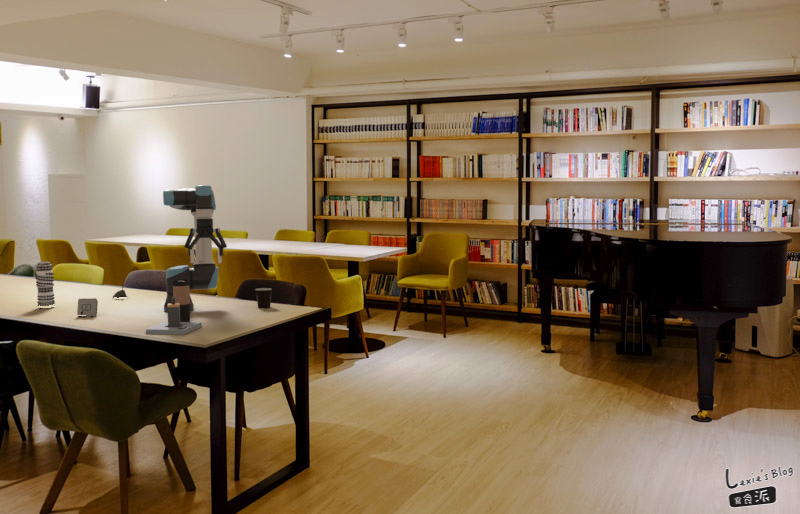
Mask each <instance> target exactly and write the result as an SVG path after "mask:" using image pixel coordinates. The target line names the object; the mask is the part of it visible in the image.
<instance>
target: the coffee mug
mask: <svg viewBox="0 0 800 514" xmlns="http://www.w3.org/2000/svg"><path fill="white" fill-rule="evenodd" d="M272 293H273V288H269V287H261V288H259V287H258V288H255V296H256V301H257V308H258V309H259V308H267V309H270V308H271V303H272Z"/></svg>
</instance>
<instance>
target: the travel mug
mask: <svg viewBox="0 0 800 514" xmlns="http://www.w3.org/2000/svg"><path fill="white" fill-rule="evenodd" d="M173 297H175V303H180V322H191V311H190V297H191V292H189V280H187V279H180V280H173Z"/></svg>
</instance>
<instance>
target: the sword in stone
mask: <svg viewBox="0 0 800 514" xmlns="http://www.w3.org/2000/svg"><path fill="white" fill-rule="evenodd" d="M125 281H126V279H125V278H124V279H123V283H122V285H121V287H122V289H120V290H118V291H116V292H115V293H114V295H112V298H113V297H117V298H119V297H128V296H127V293H126V291H125V290H124V286H125Z"/></svg>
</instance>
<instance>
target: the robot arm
mask: <svg viewBox="0 0 800 514" xmlns="http://www.w3.org/2000/svg"><path fill="white" fill-rule="evenodd" d="M212 188H213V187H212V186H211V185H209V184H207V185H203V184H202V185H199V184H198V185H196V186H195V188H178V189H164V190H163V191H162V198H163V199H162V200H163V205H164V206H169V208H172V209H175V210H179V211H190V215H192V217H193V223H194V224H193V225H194V227H191V228H190V229H189V234H188V237H187V239H186V242H185V243H184V246H183V247H184V248H185V249H187V250H188V256H189V257H190V264H192V267H190V265H187V264H185V265H184V264H183V265H176V266H171V267H169V268H167V269H166V272H165V279H166V280H165V281H166V283H165V284H166V298H165V302H164V305H163V312H165V313H168V310H167V305H168V303H172V301H171V298H172V297H173V280H180V279H187V280H189V292H190V291H191V290H192V291H193V290H195V291H196V290H209V289H210V290H211V289H215V288H217V286H218V280H219V279H218V278H219V267H218V266H216V262H215V261H213V243H214V244H215V245H216V247H217V264H222V262H223V261H222V260H223V259H222V257H223V256H224V249H225V248H227V247H228V245H227V243H226V241H225V240H224V238H223V235H222V233H221V229H220V228H218V227H216V228H214V219H213V216H214V215H213V214H214V211H215V210H216V209H217V206H216V199H215V195H214V194H215V193H214V190H213V189H212ZM216 211H217V210H216ZM214 233H215V234H216V237H217V238H216V237H215V235H214ZM193 238H194V239H193ZM194 247H195V248H194ZM190 293H191V292H190ZM194 310H195V305H194V303H193V299H192V298H191V296H190V312H191V311H194Z"/></svg>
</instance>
